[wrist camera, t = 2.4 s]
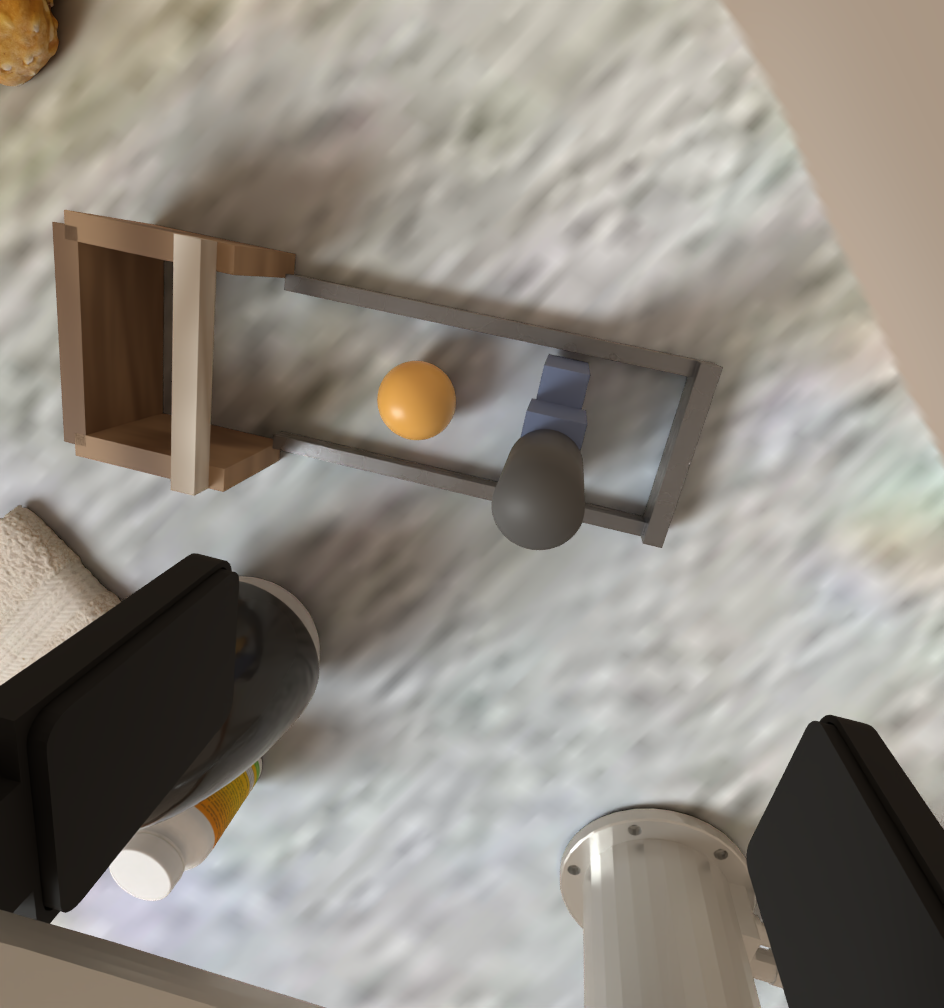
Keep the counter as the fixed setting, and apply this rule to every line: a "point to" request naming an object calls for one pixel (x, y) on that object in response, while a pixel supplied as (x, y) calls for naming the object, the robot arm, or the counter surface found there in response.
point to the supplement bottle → (179, 841)
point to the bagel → (25, 39)
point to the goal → (149, 348)
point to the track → (698, 371)
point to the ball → (416, 400)
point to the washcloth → (41, 592)
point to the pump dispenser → (254, 692)
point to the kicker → (547, 462)
